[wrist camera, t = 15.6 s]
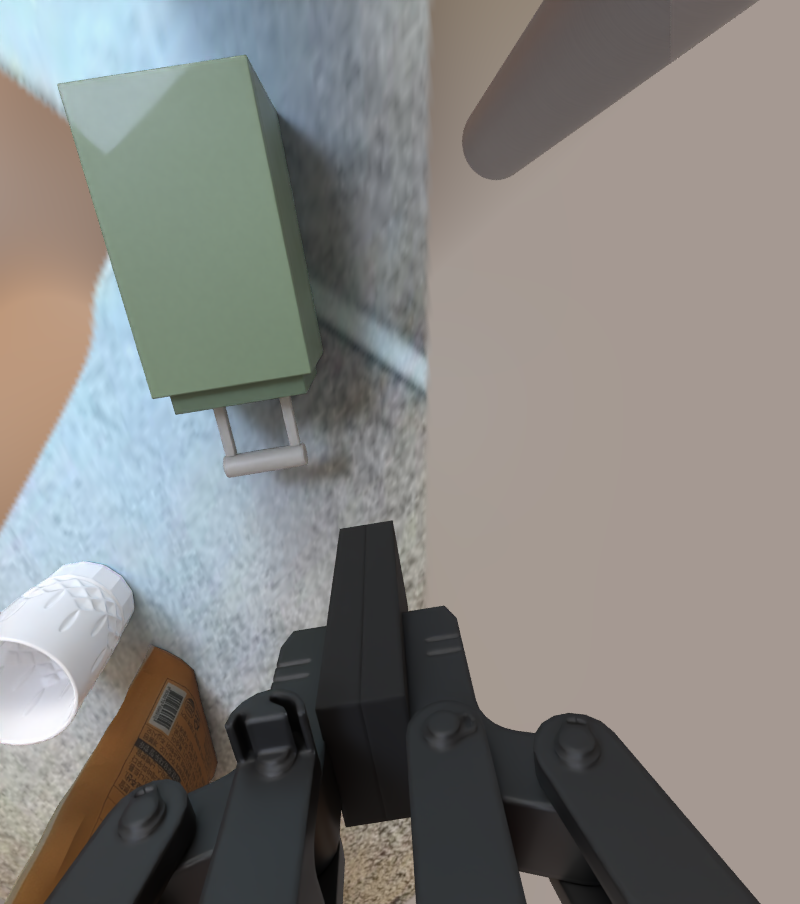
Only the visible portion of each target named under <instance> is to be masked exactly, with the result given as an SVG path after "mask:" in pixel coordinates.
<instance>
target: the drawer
mask: <svg viewBox="0 0 800 904" xmlns="http://www.w3.org/2000/svg"><path fill="white" fill-rule="evenodd" d="M316 374H317V370H316V366H315V367H314V369H313V371H312V373H310V374H304V375H298V376H292V377H286V378H280V379H273V380H267V381H261V382H255V383H249V384H242V385H236V386H230V387H224V388H218V389H211V390H205V391H199V392H193V393H187V394H181V395H174V396H170V398H171V401H172V404H173V408H174V411H175V414H176V415H177V414H184V413H190V412H196V411H202V410H208V409H213V410H214V414H215V417H216V421H217V425H218V429H219V432H220V436H221V440H222V444H223V447H224V451H225V455H226V456H225V457H224V459H223V467H224V471H225V474H226V476H227V477H229V478H231V477H237V476H243V475H249V474H255V473H261V472H268V471H274V470H280V469H286V468H292V467H298V466H304V465H307V464H308V455H307V450H306V446H305V444H304V443H300V437H299V432H298V428H297V423H296V419H295V414H294V410H293V405H292V401H291V396H295V395H301V394H306V393H307V391H308V389H309V387H310V386H311V384H312V382H313V380H314V378H315V376H316ZM276 398H279V399H280V404H281V408H282V413H283V417H284V421H285V426H286V430H287V435H288V439H289V443H290V445H288V446H282V447H276V448H269V449H263V450H257V451H251V452H245V453H239V454H237V450H236V446H235V442H234V438H233V434H232V430H231V427H230V423H229V419H228V415H227V411H226V407H227V406H233V405H239V404H245V403H251V402H258V401H264V400H270V399H276Z"/></svg>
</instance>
